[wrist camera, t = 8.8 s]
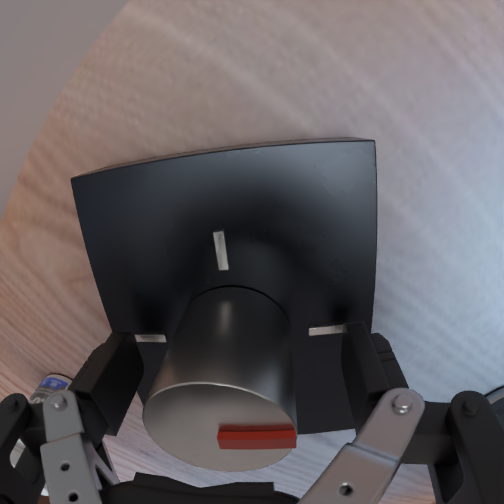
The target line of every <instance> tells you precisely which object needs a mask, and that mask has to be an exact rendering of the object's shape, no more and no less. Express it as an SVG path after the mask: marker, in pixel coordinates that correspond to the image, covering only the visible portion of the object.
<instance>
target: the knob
mask: <svg viewBox="0 0 504 504" xmlns="http://www.w3.org/2000/svg"><path fill="white" fill-rule="evenodd" d="M143 423H144V426H145V428H146V431H147V432H148V434H149V435H150V437H151V438H152V439H153V440H154V442H155V443H156V444H158V445H159V446H160V447H161V448H162V449H163V450H165V451H166V452H168V453H169V454H171V455H172V456H174V457H176V458H178V459H180V460H182V461H184V462H186V463H189V464H192V465H195V466H198V467H202V468H206V469H211V470H217V471H229V472H238V471H249V470H255V469H259V468H263V467H266V466H269V465H271V464H273V463H276V462H277V461H279V460H281V459H282V458H284V457H285V456H286V455H287V454H288V453H289V452H290V451H291V450H292V448H296V440H297V434H298V432H297V414H296V398H295V382H294V368H293V354H292V340H291V330H290V325H289V322H288V320H287V317H286V315H285V314H284V312H283V311H282V310H281V309H280V307H279V306H278V305H277V304H276V303H274V302H273V301H272V300H271V299H269V298H268V297H266V296H264V295H262V294H260V293H258V292H256V291H253V290H249V289H245V288H238V287H224V288H218V289H214V290H211V291H208V292H205V293H204V294H202V295H200V296H198V297H197V298H196V299H194V300H193V301H192V302H191V303H190V304H189V305H188V307H187V308H186V310H185V312H184V314H183V316H182V318H181V320H180V322H179V325H178V327H177V329H176V332H175V334H174V336H173V338H172V341H171V343H170V345H169V348H168V350H167V352H166V355H165V357H164V359H163V362H162V364H161V366H160V369H159V371H158V374H157V376H156V378H155V381H154V383H153V385H152V388H151V390H150V393H149V395H148V398H147V400H146V402H145V405H144V408H143Z"/></svg>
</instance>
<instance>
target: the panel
mask: <svg viewBox="0 0 504 504" xmlns="http://www.w3.org/2000/svg"><path fill="white" fill-rule="evenodd" d="M71 185H72V190H73V195H74V200H75V204H76V209H77V213H78V218H79V222H80V226H81V230H82V234H83V238H84V242H85V246H86V250H87V254H88V257H89V261H90V264H91V268H92V271H93V275H94V278H95V281H96V285H97V288H98V291H99V294H100V297H101V300H102V303H103V306H104V309H105V312H106V315H107V318H108V321H109V323H110V326H111V329H112V332H131V333H132V334H133V335H134V338H135V340H136V343H137V346H138V349H139V352H140V355H141V357H142V360H143V363H144V375H143V378H142V380H141V382H140V384H139V386H138V389H137V393H138V395H139V397H140V399H141V401H142V404H143V406H144V405H145V402H146V400H147V398H148V395H149V393H150V390H151V388H152V385H153V383H154V381H155V378H156V376H157V374H158V371H159V369H160V366H161V364H162V362H163V359H164V357H165V355H166V352H167V350H168V348H169V345H170V343H171V341H172V338H173V336H174V334H175V332H176V329H177V327H178V325H179V322H180V320H181V318H182V316H183V314H184V312H185V310H186V308H187V307H188V305H189V304H190V303H191V302H192V301H193V300H194V299H196V298H197V297H198V296H200V295H202V294H204V293H205V292H208V291H211V290H214V289H218V288H224V287H238V288H245V289H249V290H253V291H256V292H258V293H260V294H262V295H264V296H266V297H268V298H269V299H271V300H272V301H273V302H274V303H276V304H277V305H278V306H279V307H280V309H281V310H282V311H283V312H284V314H285V315H286V317H287V320H288V322H289V325H290V330H291V340H292V354H293V368H294V382H295V398H296V414H297V432H298V434H297V435H300V434H312V433H322V432H331V431H339V430H347V429H354V428H355V426H354V421H353V417H352V412H351V408H350V403H349V399H348V394H347V390H346V386H345V382H344V377H343V373H342V367H341V348H342V331H343V324H344V323H350V322H359V321H364V322H365V324H366V327H367V329H368V332H369V334H371V327H372V316H373V304H374V291H375V275H376V253H377V169H376V147H375V140H370V139H363V138H355V137H344V138H320V139H303V140H289V141H276V142H265V143H255V144H245V145H236V146H228V147H220V148H212V149H205V150H198V151H191V152H184V153H178V154H172V155H166V156H160V157H154V158H149V159H143V160H138V161H133V162H128V163H123V164H118V165H113V166H109V167H104V168H101V169H98V170H95V171H91V172H88V173H85V174H82V175H79V176H76V177H73V178H71Z"/></svg>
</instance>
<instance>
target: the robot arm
mask: <svg viewBox="0 0 504 504" xmlns="http://www.w3.org/2000/svg"><path fill="white" fill-rule="evenodd" d="M341 367H342V373H343V377H344V382H345V386H346V390H347V394H348V399H349V403H350V408H351V412H352V417H353V421H354V426H355V431H356V437H355V439H354V440H353V442H352V443H346V444H345V445H344V446H343V447H342V448H341V450H340V451H339V452H338V454H337V455H336V456H335V458H334V459H333V460H332V462H331V463H330V464H329V465H328V467H327V468H326V469H325V471H324V472H323V473H322V474H321V476H320V477H319V478H318V479H317V480H316V482H315V483H314V484H313V485H312V486H311V488H310V489H309V490H308V491H307V492H306V494H305V495H304V496H303V497H302V498H301V499H299V498H297V497H295V496H293V495H290V494H287V493H283V492H279V491H275V490H274V483H273V482H235V483H230V484H224V485H217V486H210V487H203V488H199V487H195V486H192V485H189V484H186V483H183V482H180V481H177V480H174V479H171V478H169V477H165V476H158V475H151V474H145V473H139V472H136V474H135V477H134V480H133V481H126V482H120V480H119V478H118V476H117V474H116V471H115V469H114V466H113V464H112V461H111V459H110V456H109V453H108V451H107V448H106V445H105V443H104V441H103V440H102V439H103V436H104V434H106V435H111V436H116V435H117V433H118V431H119V428H120V426H121V424H122V422H123V419H124V417H125V415H126V413H127V410H128V408H129V406H130V404H131V402H132V399H133V397H134V395H135V393H136V391H137V389H138V386H139V384H140V382H141V380H142V378H143V375H144V363H143V360H142V357H141V355H140V352H139V349H138V346H137V343H136V340H135V338H134V335H133V334H132V333H131V332H112V333H111V335H110V336H109V337H108V339H107V340H106V342H105V343H102V344H101V345H100V346H98V347H97V348H96V349H95V350H93V352H92V353H91V355H90V356H89V357H88V361H86V362H85V363H84V365H83V367H82V368H81V369H80V371H79V372H78V373H77V375H76V376H75V378H74V379H73V381H72V382H71V384H70V385H69V387H68V388H67V390H65V389H62V390H58V391H55V392H53V393H51V394H50V395H49V396H47V398H46V399H45V400H44V402H43V403H33V404H30V403H29V402H28V400H27V398H26V397H25V396H24V395H23V394H21V393H15V394H11V395H9V396H7V397H6V398H5V399H4V400H3V401H2V402H1V403H0V504H37V503H38V500H39V498H40V495H41V493H42V491H43V488H44V486H45V483H46V485H47V490H48V495H49V499H50V503H51V504H378V503H379V501H380V500H381V498H382V496H383V495H384V493H385V491H386V490H387V488H388V486H389V485H390V483H391V481H392V480H393V478H394V476H395V474H396V472H397V471H398V469H399V467H400V465H401V463H404V464H427V465H428V469H429V473H430V477H431V481H432V486H433V490H434V494H435V499H436V504H504V388H501V389H499V390H497V391H495V392H493V393H492V394H490V395H488V396H487V397H485V396H484V395H482V394H481V393H479V392H476V391H463V392H460V393H458V394H456V395H455V396H454V397H453V399H452V401H451V403H437V402H428V401H424V400H423V398H422V396H421V395H420V394H419V393H417V392H416V391H414V390H411V389H409V387H408V384H407V382H406V380H405V377H404V375H403V373H402V371H401V368H400V366H399V364H398V362H397V360H396V357H395V355H394V353H393V352H392V348H391V346H390V344H389V342H388V340H387V339H385V338H384V337H383V336H382V335H381V334H379V333H373V334H369V332H368V329H367V327H366V324H365V322H364V321H359V322H350V323H344V324H343V331H342V348H341ZM19 439H20V440H21V442H22V443H23V444H24V445H25V448H24V450H23V452H22V454H21V456H20V458H19V460H18V462H17V463H16V465H15V467H13V466H12V464H11V462H10V455H11V452H12V450H13V449H14V447H15V445H16V443H17V441H18V440H19Z"/></svg>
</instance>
